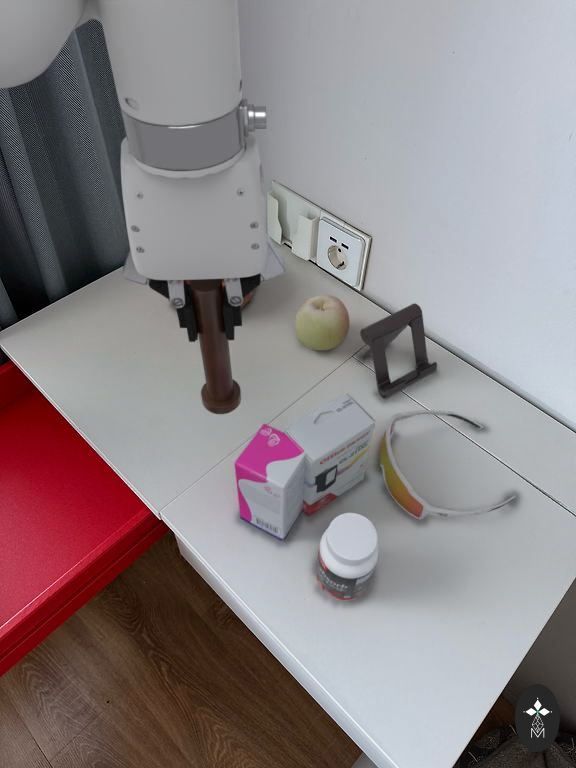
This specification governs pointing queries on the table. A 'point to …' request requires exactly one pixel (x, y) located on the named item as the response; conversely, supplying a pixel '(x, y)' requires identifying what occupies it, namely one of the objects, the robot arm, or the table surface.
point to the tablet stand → (383, 335)
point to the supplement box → (271, 482)
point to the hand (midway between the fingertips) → (212, 328)
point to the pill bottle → (347, 556)
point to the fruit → (322, 322)
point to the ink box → (332, 449)
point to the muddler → (214, 347)
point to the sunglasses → (398, 483)
